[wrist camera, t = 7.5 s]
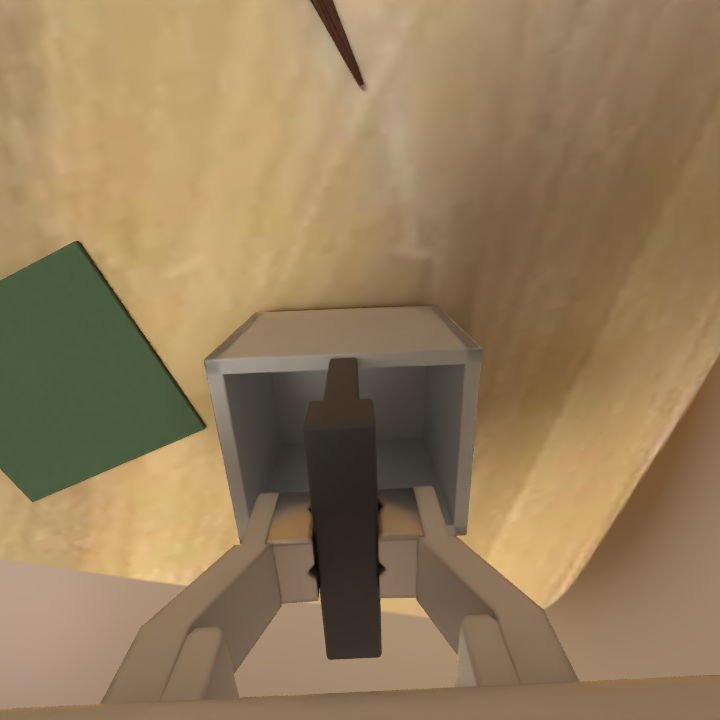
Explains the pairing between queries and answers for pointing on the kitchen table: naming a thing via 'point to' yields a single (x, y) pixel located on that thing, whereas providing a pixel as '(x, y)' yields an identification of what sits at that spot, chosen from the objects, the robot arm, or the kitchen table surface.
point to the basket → (347, 434)
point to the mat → (77, 379)
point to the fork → (337, 34)
